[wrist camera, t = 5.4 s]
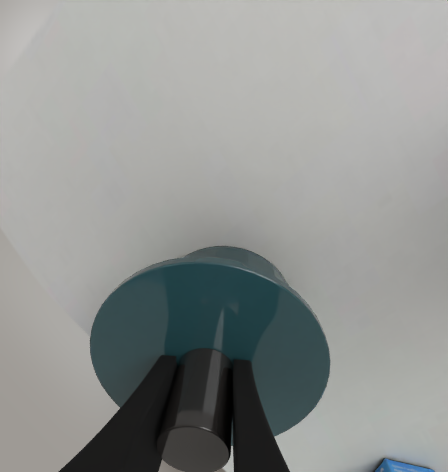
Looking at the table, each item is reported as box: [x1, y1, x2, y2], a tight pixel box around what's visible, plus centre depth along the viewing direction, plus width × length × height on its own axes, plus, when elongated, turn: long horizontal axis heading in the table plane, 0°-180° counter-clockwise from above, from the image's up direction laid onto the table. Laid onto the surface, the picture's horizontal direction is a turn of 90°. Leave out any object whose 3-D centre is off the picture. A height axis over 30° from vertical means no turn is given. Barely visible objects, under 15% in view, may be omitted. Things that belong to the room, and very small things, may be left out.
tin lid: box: [90, 257, 330, 472], centre depth 11 cm, size 10×10×4 cm
